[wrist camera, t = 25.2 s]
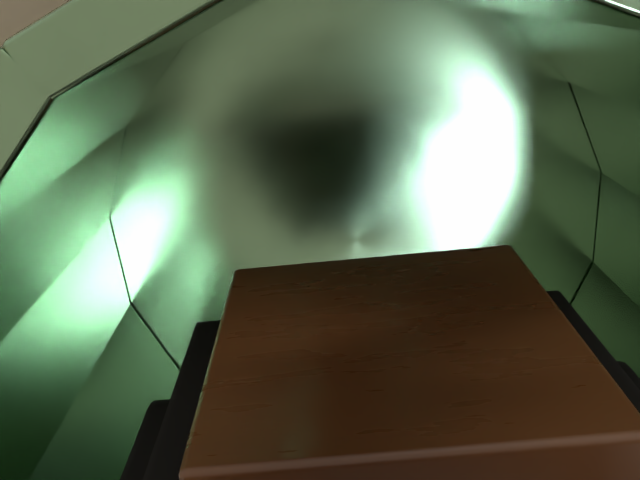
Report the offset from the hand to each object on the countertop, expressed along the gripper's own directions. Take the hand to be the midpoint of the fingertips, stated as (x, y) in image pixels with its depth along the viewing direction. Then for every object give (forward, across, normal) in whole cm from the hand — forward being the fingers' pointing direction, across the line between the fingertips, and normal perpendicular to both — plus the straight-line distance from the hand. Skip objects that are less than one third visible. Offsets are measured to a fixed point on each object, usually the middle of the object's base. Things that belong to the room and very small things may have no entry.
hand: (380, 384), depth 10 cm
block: (0, 0, 0) cm, 0 cm away
